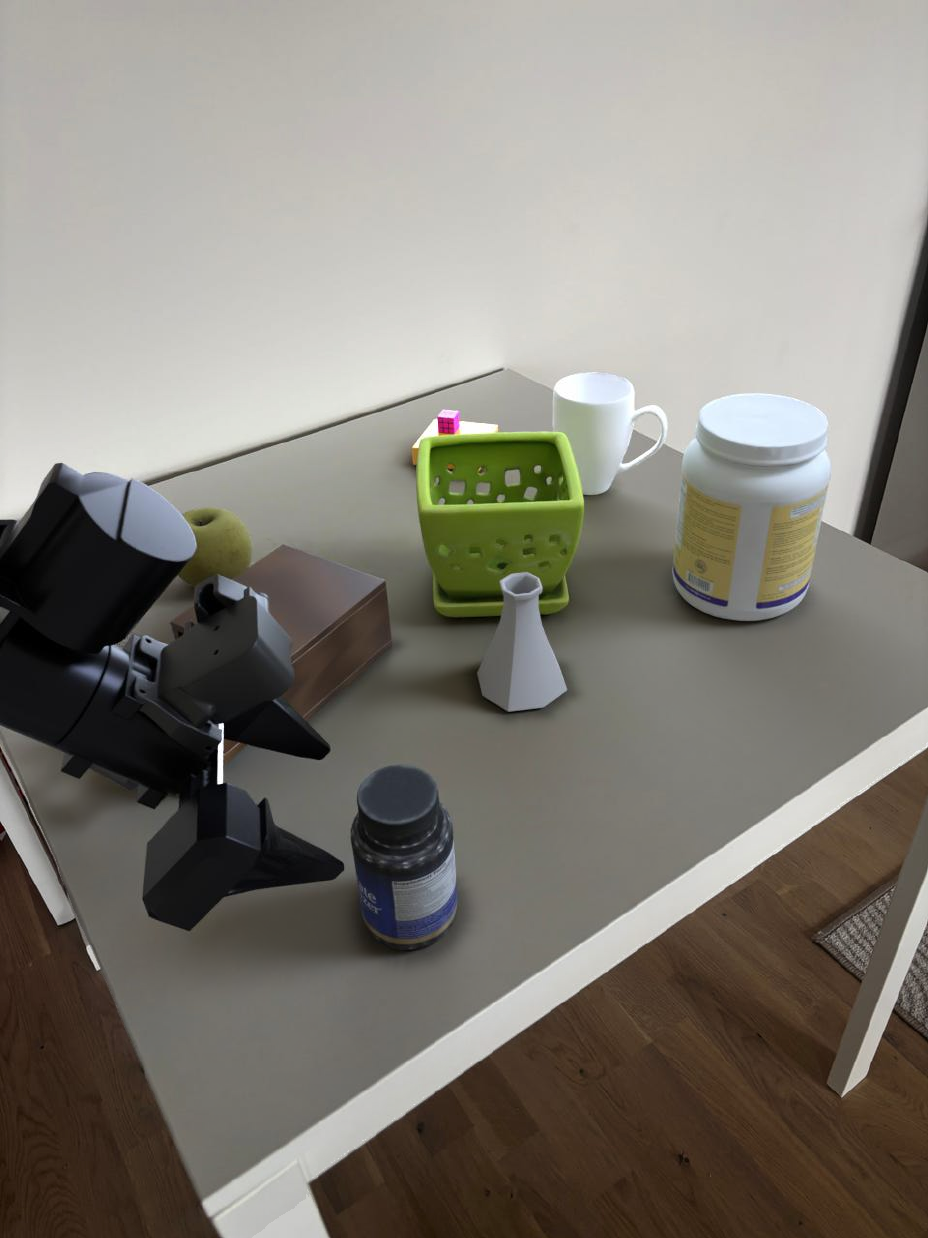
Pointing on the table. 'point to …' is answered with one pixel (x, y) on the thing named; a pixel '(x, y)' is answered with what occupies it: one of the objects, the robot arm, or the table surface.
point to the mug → (600, 425)
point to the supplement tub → (751, 506)
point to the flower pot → (498, 518)
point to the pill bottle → (404, 858)
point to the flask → (520, 651)
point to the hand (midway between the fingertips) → (332, 809)
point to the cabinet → (318, 621)
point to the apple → (216, 545)
